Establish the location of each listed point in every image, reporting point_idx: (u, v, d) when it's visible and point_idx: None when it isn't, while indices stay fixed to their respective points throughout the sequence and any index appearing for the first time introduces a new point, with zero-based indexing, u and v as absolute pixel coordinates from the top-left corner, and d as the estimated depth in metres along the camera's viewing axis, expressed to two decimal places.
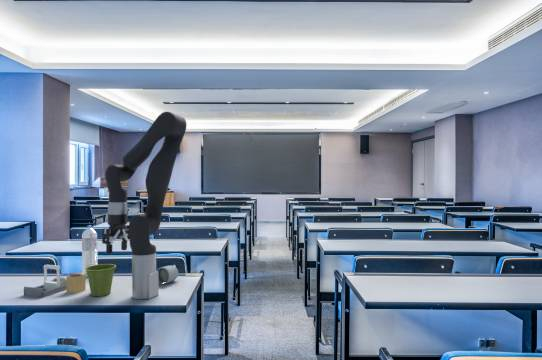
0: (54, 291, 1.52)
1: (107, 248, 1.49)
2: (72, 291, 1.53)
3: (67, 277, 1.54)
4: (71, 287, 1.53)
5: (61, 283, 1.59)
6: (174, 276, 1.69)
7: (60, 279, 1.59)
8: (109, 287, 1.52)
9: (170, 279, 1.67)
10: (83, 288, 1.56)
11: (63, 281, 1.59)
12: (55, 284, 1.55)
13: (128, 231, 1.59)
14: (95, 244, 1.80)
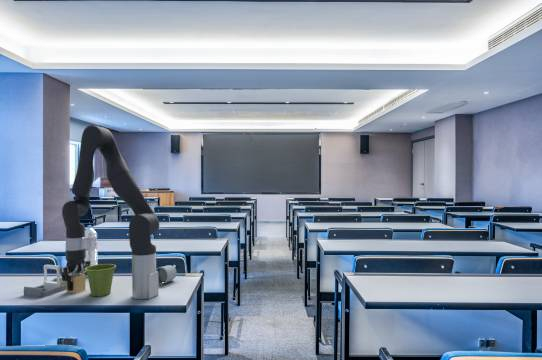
0: (54, 291, 1.52)
1: (68, 285, 1.52)
2: (72, 291, 1.53)
3: None
4: None
5: (61, 283, 1.59)
6: (172, 276, 1.70)
7: (60, 279, 1.59)
8: (109, 287, 1.52)
9: (168, 279, 1.67)
10: (83, 288, 1.56)
11: (63, 281, 1.59)
12: (55, 284, 1.55)
13: None
14: (95, 244, 1.80)
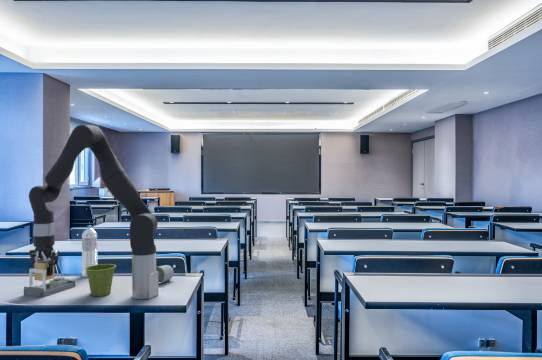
0: (54, 291, 1.52)
1: None
2: None
3: None
4: None
5: (61, 283, 1.59)
6: (169, 275, 1.70)
7: (60, 279, 1.59)
8: (109, 287, 1.52)
9: (165, 278, 1.68)
10: (41, 277, 1.51)
11: (63, 281, 1.59)
12: None
13: None
14: (95, 244, 1.80)
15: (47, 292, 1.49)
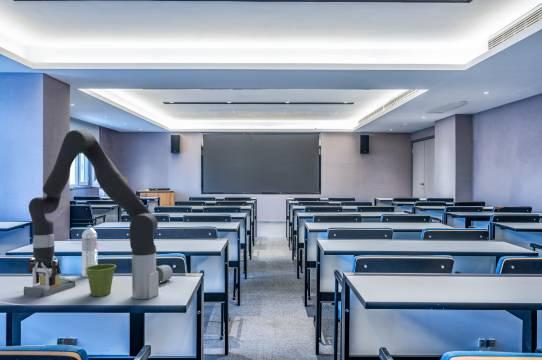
0: (54, 291, 1.52)
1: None
2: None
3: None
4: None
5: (61, 283, 1.59)
6: (168, 275, 1.71)
7: (60, 279, 1.59)
8: (109, 287, 1.52)
9: (164, 278, 1.68)
10: None
11: (63, 281, 1.60)
12: (44, 287, 1.50)
13: None
14: (95, 244, 1.80)
15: (47, 292, 1.49)
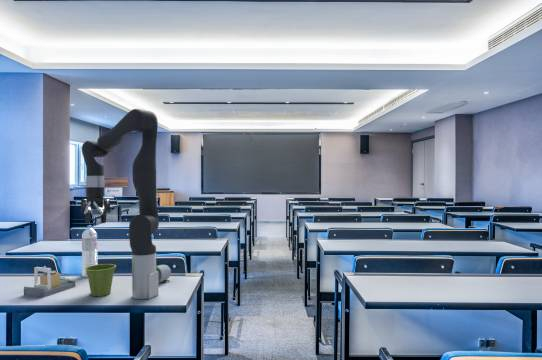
0: (54, 291, 1.52)
1: None
2: None
3: None
4: None
5: (62, 283, 1.59)
6: (167, 275, 1.71)
7: (61, 279, 1.59)
8: (109, 287, 1.52)
9: (163, 278, 1.68)
10: None
11: (64, 281, 1.60)
12: (46, 287, 1.51)
13: None
14: (95, 244, 1.80)
15: (47, 292, 1.49)
